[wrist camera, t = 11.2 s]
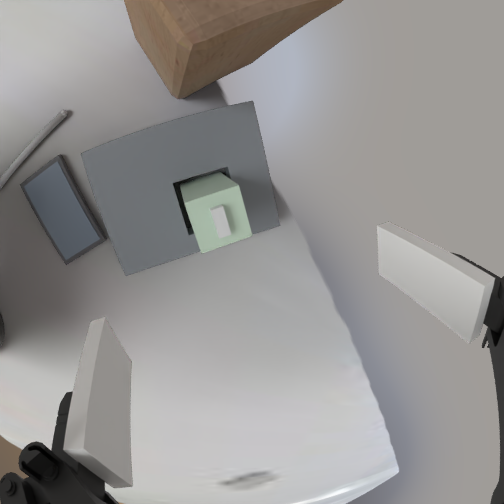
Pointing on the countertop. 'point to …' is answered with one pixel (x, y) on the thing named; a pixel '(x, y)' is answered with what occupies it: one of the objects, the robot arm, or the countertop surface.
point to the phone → (62, 210)
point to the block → (213, 35)
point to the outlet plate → (173, 170)
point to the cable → (32, 146)
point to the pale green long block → (215, 211)
